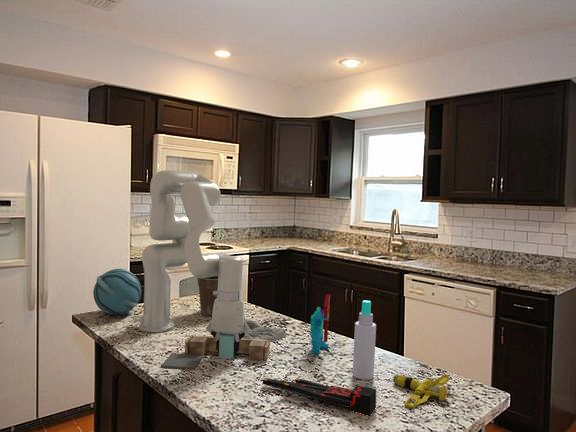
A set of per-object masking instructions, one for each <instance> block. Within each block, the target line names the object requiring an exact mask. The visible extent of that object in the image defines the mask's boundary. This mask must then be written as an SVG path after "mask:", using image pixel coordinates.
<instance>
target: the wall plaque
mask: <svg viewBox="0 0 576 432" xmlns="http://www.w3.org/2000/svg"><path fill="white" fill-rule="evenodd" d="M245 322H246V323H247V325H248V326H249V328H250V329H251V332H250V333H249V334H247V335H245V336H244V337H243V338H242V339H257V340H270V343H273V342H275V341H278V340H281V339H283V338H286V337H287V331H286V330H285V329H284V328H283V327H277V328H272V327H271V326H262V325H260V324H259V323H257V321H255V320H252V319H245ZM244 331H245V329H243V331H242V332H244ZM242 332H241V333H242ZM241 333H240V334H241Z"/></svg>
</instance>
